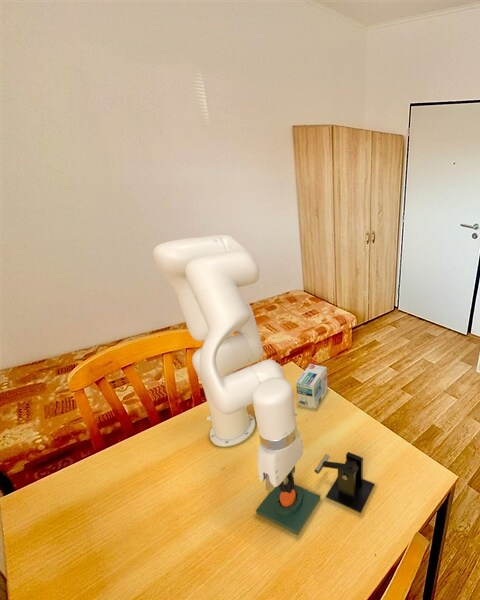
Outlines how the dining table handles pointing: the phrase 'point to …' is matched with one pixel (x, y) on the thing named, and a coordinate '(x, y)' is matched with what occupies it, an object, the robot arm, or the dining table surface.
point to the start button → (287, 498)
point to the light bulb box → (312, 386)
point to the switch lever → (335, 464)
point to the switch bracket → (351, 486)
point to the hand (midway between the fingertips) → (287, 488)
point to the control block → (289, 509)
